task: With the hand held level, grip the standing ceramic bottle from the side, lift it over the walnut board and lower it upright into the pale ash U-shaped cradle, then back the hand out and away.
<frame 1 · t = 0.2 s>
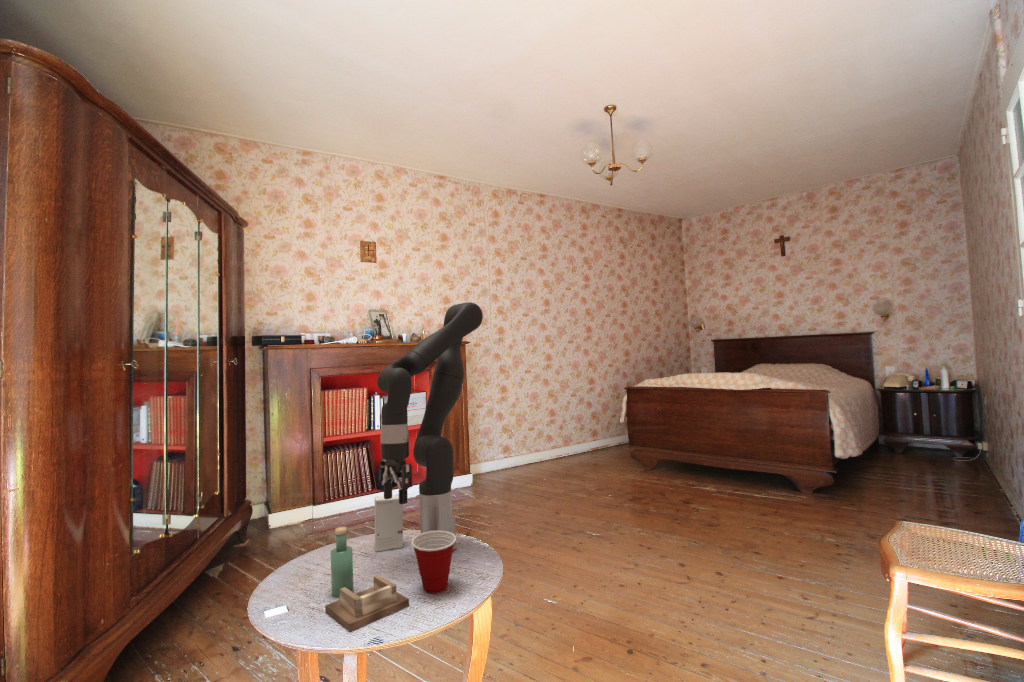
hand: (395, 501, 131), 18 cm above the table, tool pointing down, fingers open, 8 cm apart
bottle cradle: (367, 609, 108), on the table
green bottle: (342, 592, 117), on the table
skincare box: (389, 547, 146), on the table
plastic cup: (435, 589, 117), on the table
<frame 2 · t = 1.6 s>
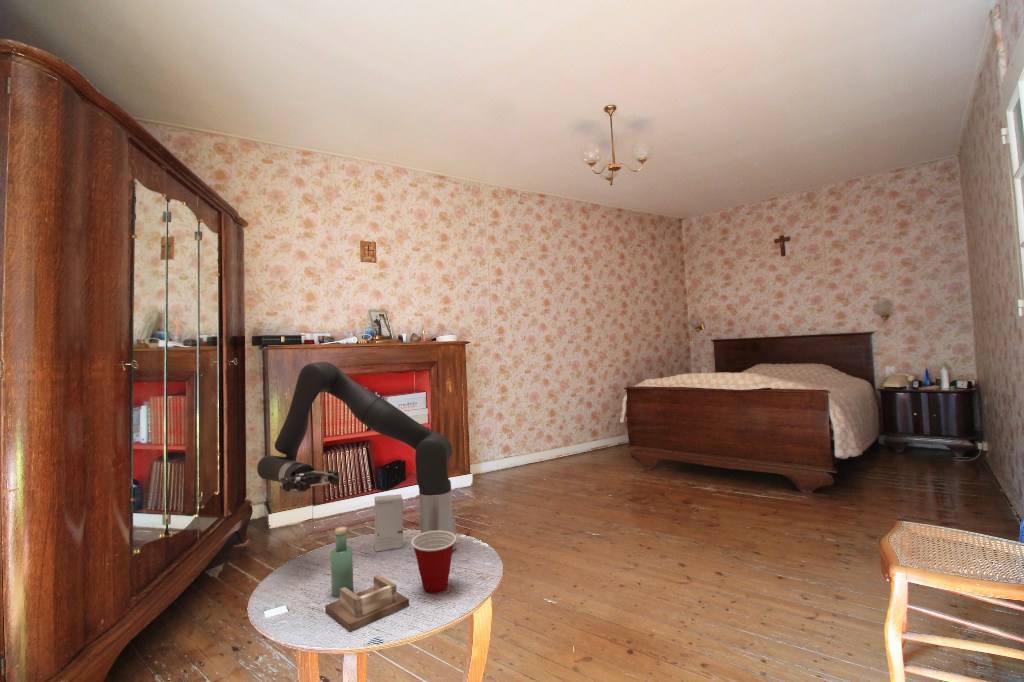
hand: (321, 484, 126), 24 cm above the table, tool horizontal, fingers open, 8 cm apart
nothing on the table moved.
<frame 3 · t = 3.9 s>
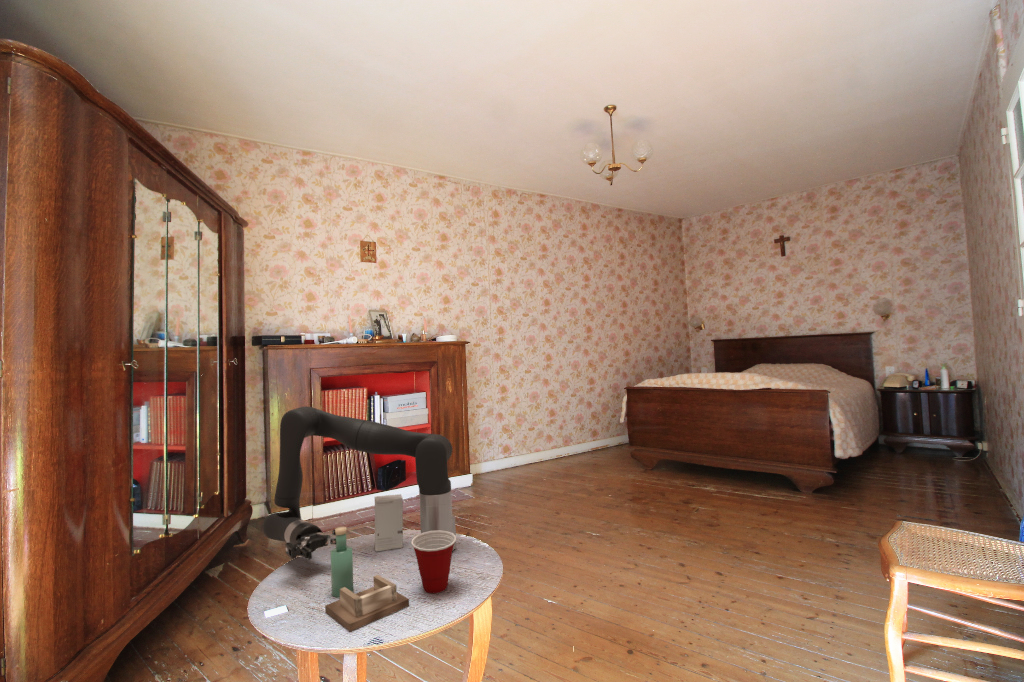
hand: (327, 549, 124), 8 cm above the table, tool horizontal, fingers open, 8 cm apart
nothing on the table moved.
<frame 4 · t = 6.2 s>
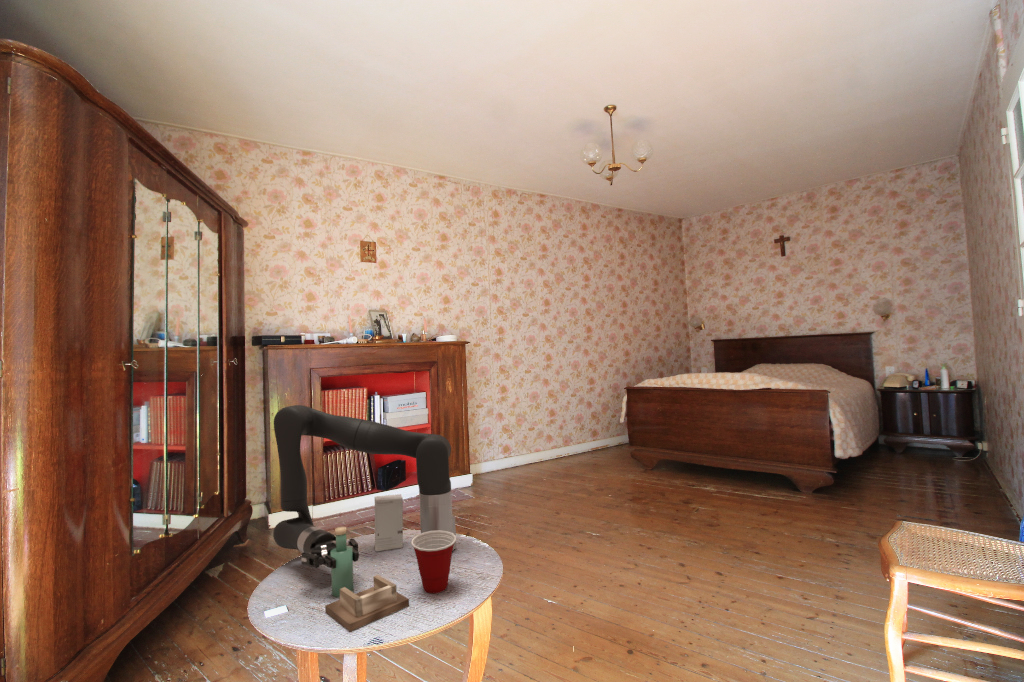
hand: (345, 560, 116), 8 cm above the table, tool horizontal, fingers closed on green bottle, 5 cm apart
green bottle: (342, 592, 117), on the table, touching gripper
everything else where it was.
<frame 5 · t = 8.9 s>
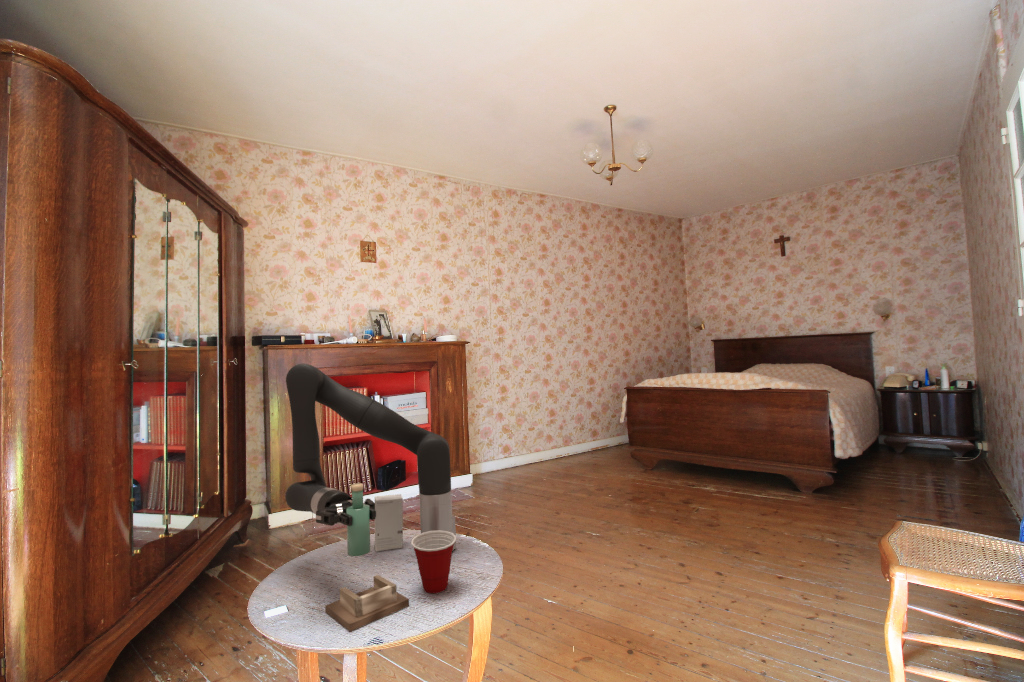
hand: (362, 518, 110), 20 cm above the table, tool horizontal, fingers closed on green bottle, 5 cm apart
green bottle: (359, 551, 111), point 12 cm above the table, touching gripper
everything else where it was.
when the fingers open (11 cm above the table, at t = 11.8 s): green bottle drops 1 cm, resting on bottle cradle.
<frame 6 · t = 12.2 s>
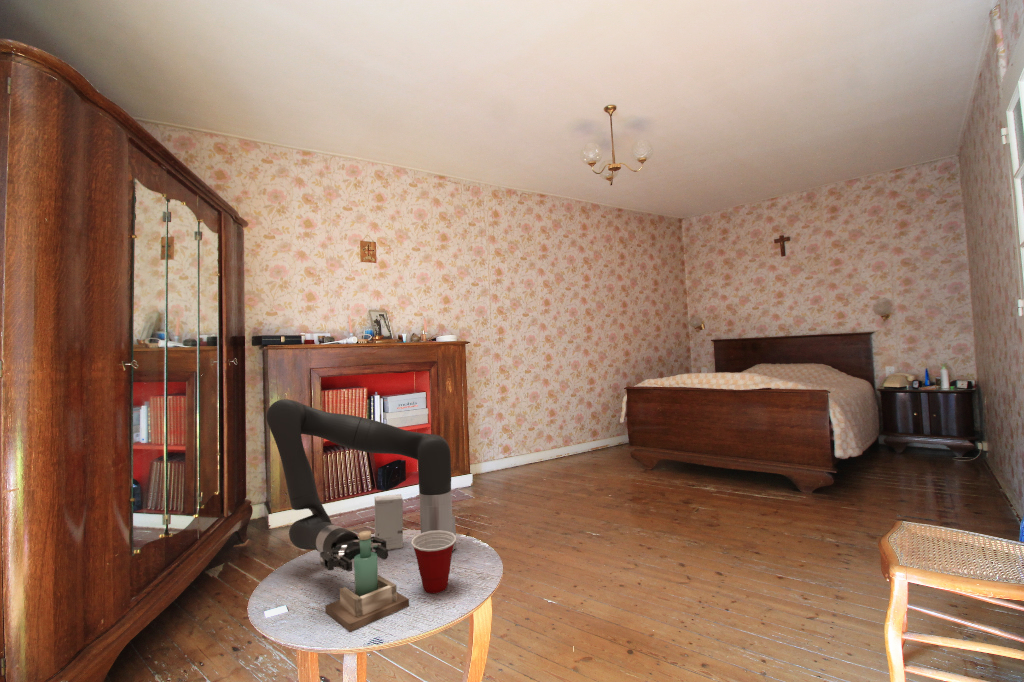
hand: (368, 560, 108), 11 cm above the table, tool horizontal, fingers open, 8 cm apart
green bottle: (367, 601, 108), point 2 cm above the table, touching bottle cradle
everything else where it was.
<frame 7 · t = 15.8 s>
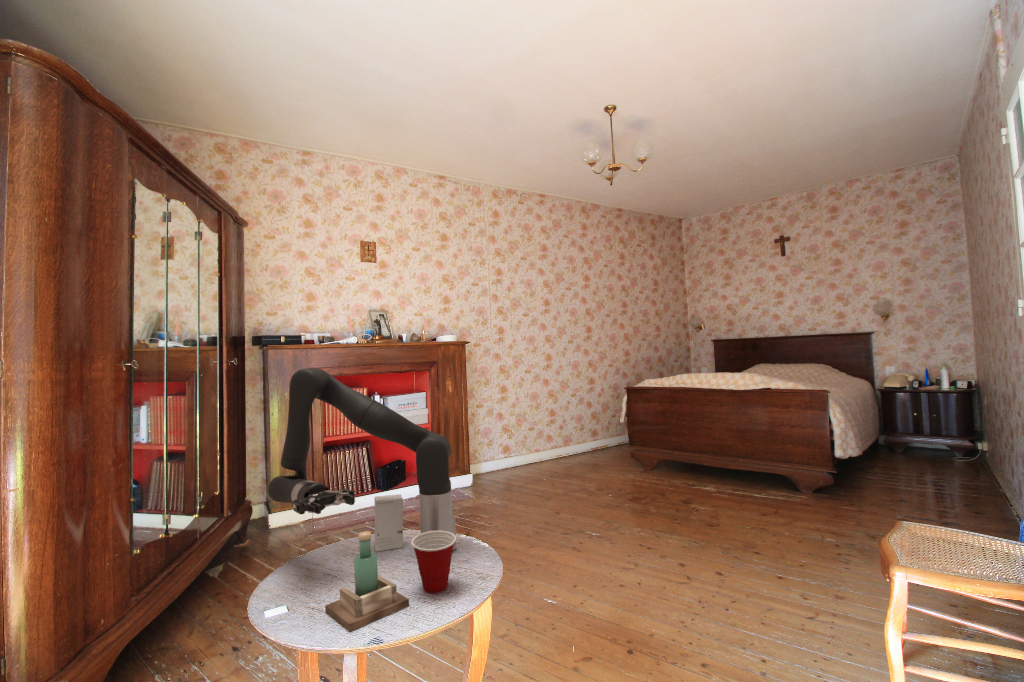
hand: (336, 505, 120), 20 cm above the table, tool horizontal, fingers open, 8 cm apart
nothing on the table moved.
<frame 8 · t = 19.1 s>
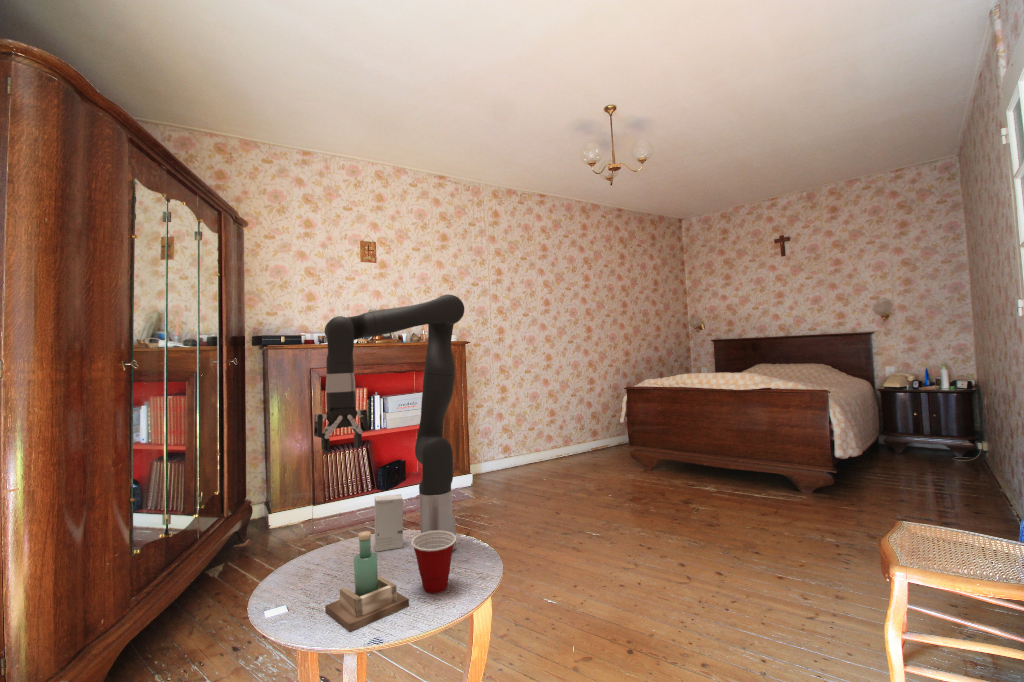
hand: (342, 450, 131), 32 cm above the table, tool pointing down, fingers open, 8 cm apart
nothing on the table moved.
at the end: green bottle 0.1 cm off-centre on the bottle cradle, point 1.5 cm above the bottle cradle's base; green bottle tilted 0°; the gripper is holding nothing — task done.
